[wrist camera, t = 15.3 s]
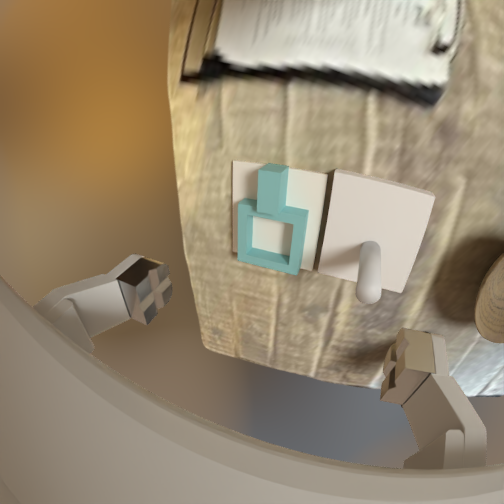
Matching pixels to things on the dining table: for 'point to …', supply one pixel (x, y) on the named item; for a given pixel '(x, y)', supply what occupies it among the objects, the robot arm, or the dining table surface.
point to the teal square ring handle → (273, 208)
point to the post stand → (373, 232)
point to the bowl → (491, 303)
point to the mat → (298, 195)
